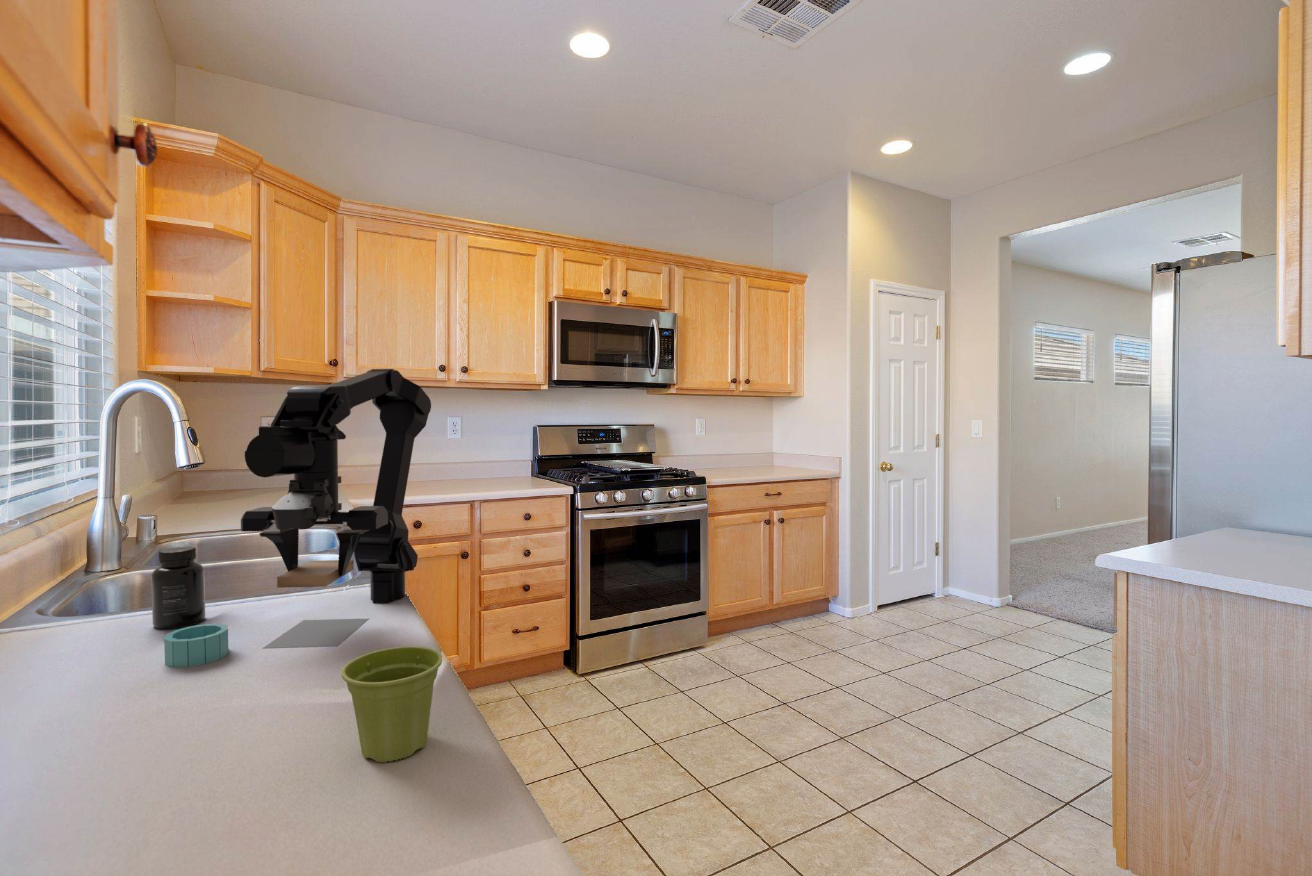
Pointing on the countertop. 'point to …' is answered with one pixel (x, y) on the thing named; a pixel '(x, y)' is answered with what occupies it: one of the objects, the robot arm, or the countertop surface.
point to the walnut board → (312, 574)
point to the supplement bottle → (178, 589)
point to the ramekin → (196, 645)
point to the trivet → (317, 633)
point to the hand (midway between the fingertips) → (317, 576)
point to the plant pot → (392, 699)
